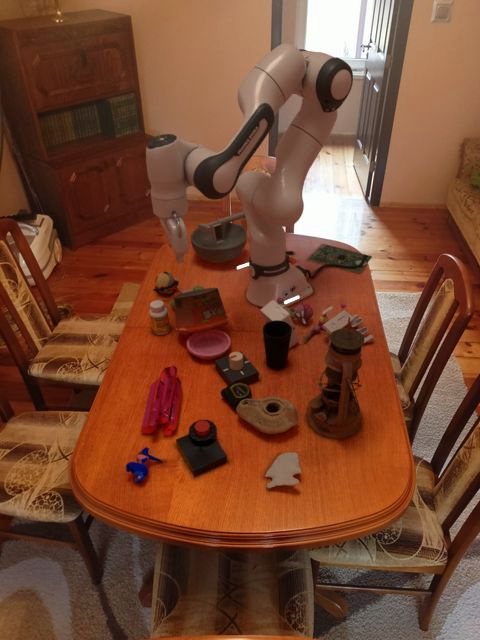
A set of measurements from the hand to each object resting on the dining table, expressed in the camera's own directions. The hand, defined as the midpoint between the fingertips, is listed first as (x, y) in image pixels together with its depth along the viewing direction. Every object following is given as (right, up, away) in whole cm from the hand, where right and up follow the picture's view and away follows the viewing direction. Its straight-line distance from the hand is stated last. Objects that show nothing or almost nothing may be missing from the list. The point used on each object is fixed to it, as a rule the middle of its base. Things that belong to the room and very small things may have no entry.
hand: (176, 253), depth 131 cm
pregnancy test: (+45, -18, +12) cm, 50 cm away
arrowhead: (+27, -55, -30) cm, 68 cm away
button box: (+9, -50, -20) cm, 54 cm away
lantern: (+41, -43, -12) cm, 60 cm away
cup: (+27, -30, +4) cm, 41 cm away
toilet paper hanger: (+13, +17, +45) cm, 50 cm away
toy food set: (+1, -12, +25) cm, 28 cm away
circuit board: (+52, +8, +49) cm, 72 cm away
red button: (+10, -45, -20) cm, 50 cm away
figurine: (-2, -48, -22) cm, 53 cm away
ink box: (+31, -22, +12) cm, 39 cm away
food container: (+4, -9, +8) cm, 13 cm away
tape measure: (+17, -40, -8) cm, 44 cm away
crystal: (-1, -39, -8) cm, 40 cm away
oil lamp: (+24, -44, -13) cm, 52 cm away
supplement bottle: (-7, -20, +16) cm, 26 cm away
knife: (+30, +14, +55) cm, 65 cm away
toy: (-7, -2, +35) cm, 36 cm away
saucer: (+8, -26, +8) cm, 28 cm away
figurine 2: (+25, -18, +13) cm, 33 cm away
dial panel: (+16, -33, 0) cm, 36 cm away
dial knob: (+16, -30, -2) cm, 34 cm away
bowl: (+8, +8, +49) cm, 50 cm away
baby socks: (+52, -19, +13) cm, 57 cm away
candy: (+44, -20, +15) cm, 51 cm away
